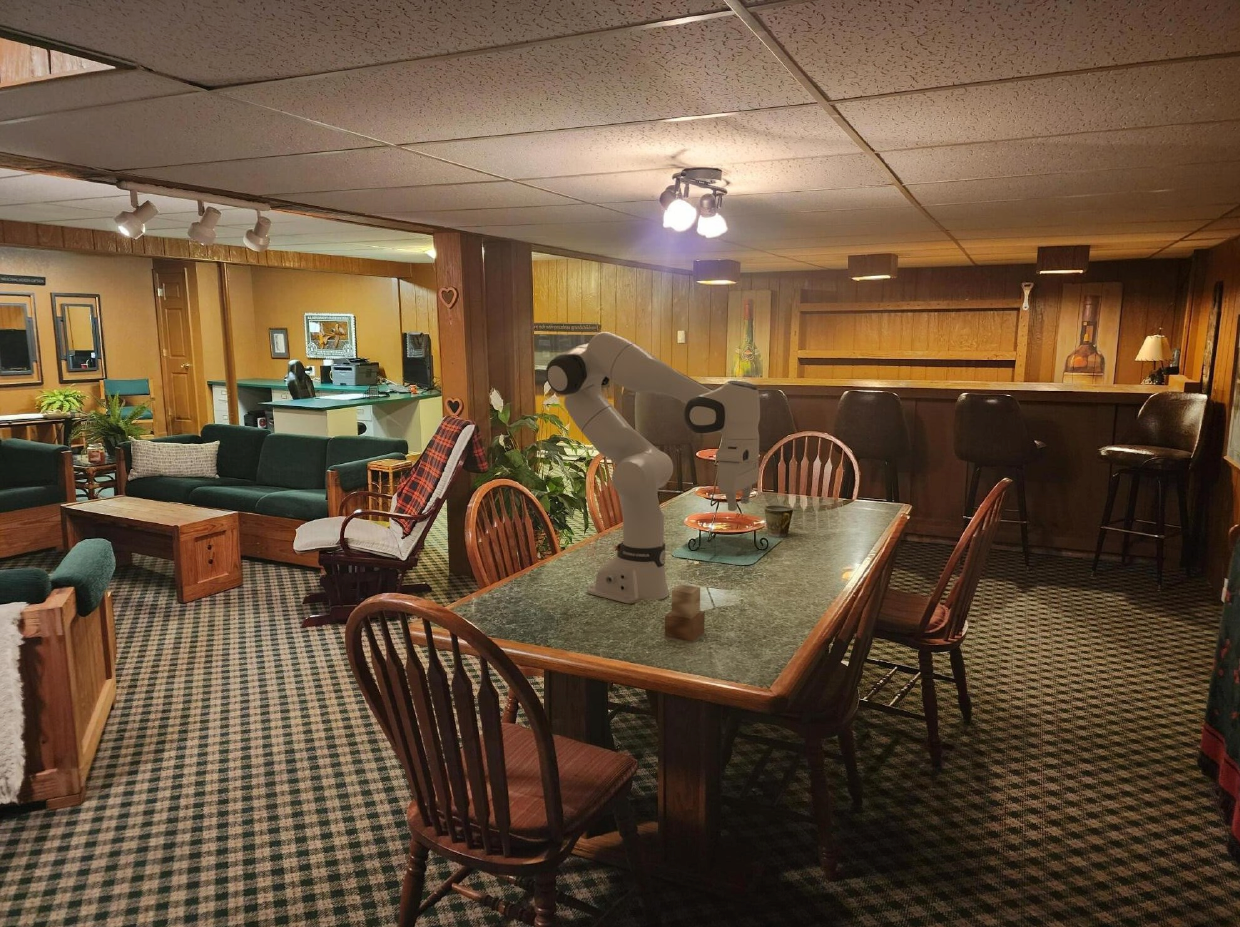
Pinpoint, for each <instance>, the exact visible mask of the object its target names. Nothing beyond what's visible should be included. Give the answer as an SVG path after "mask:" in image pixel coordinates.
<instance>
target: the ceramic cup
mask: <svg viewBox="0 0 1240 927" xmlns="http://www.w3.org/2000/svg"><path fill="white" fill-rule="evenodd" d="M793 514H794V507H792V506H789V505H783V504H772V505H771V504H770V505H766V506H764V515H765V516H764V517H765V520H766V528H767V529H766V530H767V534H768V536H770V537H772V538H786V537H787V536H788V535H789V531H790V530H789V529H790V526H791V525H790V524H791V521H792V517H793Z"/></svg>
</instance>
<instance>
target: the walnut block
mask: <svg viewBox="0 0 1240 927" xmlns="http://www.w3.org/2000/svg"><path fill="white" fill-rule="evenodd" d="M671 612H672V610H671V611H670V612H668V613H667V614H666V615H664V635H665V637H669V638H674V639H680V640H685V641H690V642H694V641H695V640H696V639H697V638H698V637H699V636H700V635H702V634H703V633H704V631H705V618H706V617H705V615H706V614H705V613H706V611H703V610H700V613H698V614H697V615H696V616H695V617H693V618H692V619H690V618H684V617H678V616H672V615H671ZM674 639H673V640H674ZM685 641H684V642H685ZM690 642H689V643H690Z"/></svg>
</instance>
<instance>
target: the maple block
mask: <svg viewBox="0 0 1240 927" xmlns="http://www.w3.org/2000/svg"><path fill="white" fill-rule="evenodd" d="M671 611H672V612H671ZM671 611H670V612H671V615H672V616H678V617H684V618H690V619H692V618H693V617H695V616H696V615H697V614H698V613H700V611H701V587H699V586H694V585H688V584H681V583H680V584H678V585H677V586H676V587H675V588H672V589H671Z"/></svg>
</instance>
